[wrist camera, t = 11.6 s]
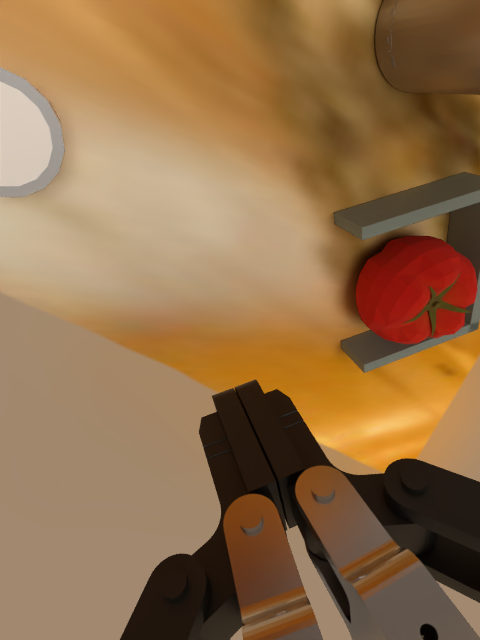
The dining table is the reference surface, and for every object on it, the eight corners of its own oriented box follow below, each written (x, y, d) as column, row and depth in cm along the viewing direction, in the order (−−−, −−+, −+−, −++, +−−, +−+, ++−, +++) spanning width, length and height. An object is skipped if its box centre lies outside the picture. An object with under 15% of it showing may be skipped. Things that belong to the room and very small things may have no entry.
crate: (464, 172, 41) (505, 181, 37) (446, 309, 51) (477, 329, 47) (333, 212, 39) (362, 227, 35) (341, 348, 48) (364, 372, 44)
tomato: (325, 277, 42) (374, 318, 35) (415, 204, 41) (486, 230, 34) (364, 334, 48) (412, 379, 41) (443, 271, 47) (508, 306, 40)
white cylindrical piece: (74, 85, 27) (68, 85, 22) (67, 185, 30) (61, 208, 25) (-44, 52, 25) (-86, 42, 19) (-38, 165, 28) (-73, 185, 22)
